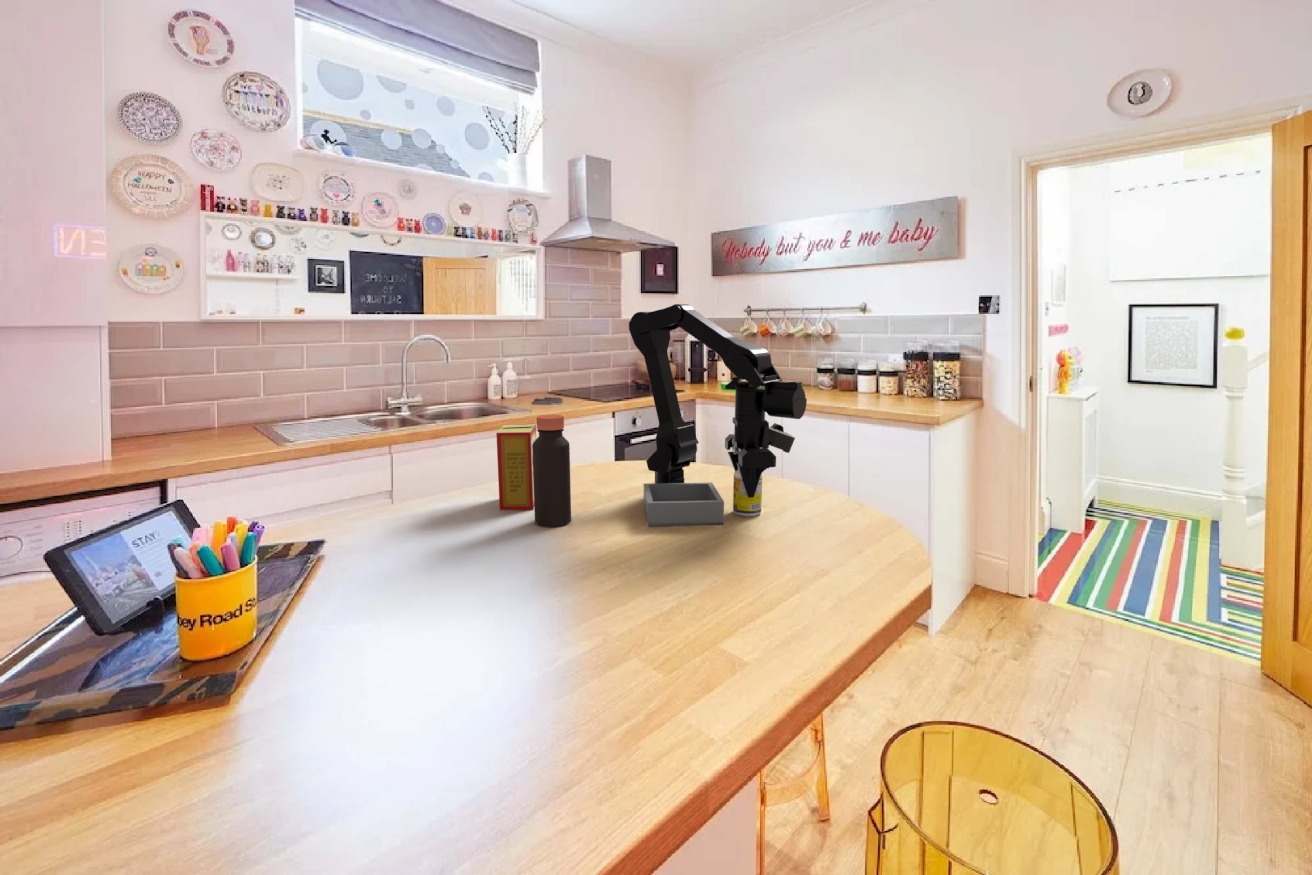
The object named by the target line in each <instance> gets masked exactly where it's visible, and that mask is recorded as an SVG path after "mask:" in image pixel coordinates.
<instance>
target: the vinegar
mask: <svg viewBox="0 0 1312 875" xmlns="http://www.w3.org/2000/svg"><path fill="white" fill-rule="evenodd" d="M564 428H565V417H564V416H563V414H562V415H561V414H542V415H537V416H536V432H538V436H537V437H536V440H535V441H534V442H533V445H532V453H533V482H534V509H533V512H534V523H535V524H536V525H537V526H540V527H544V528H557V527H563V526H566V525H568V524H570V523H571V521H572V502H571V501H572V497H571V496H572V495H571V494H572V493H571V455H570V453H571V451H570V450H571V448H570V442H569V440H568V439H566V438H565V436H563V432H564V431H565V429H564Z"/></svg>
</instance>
